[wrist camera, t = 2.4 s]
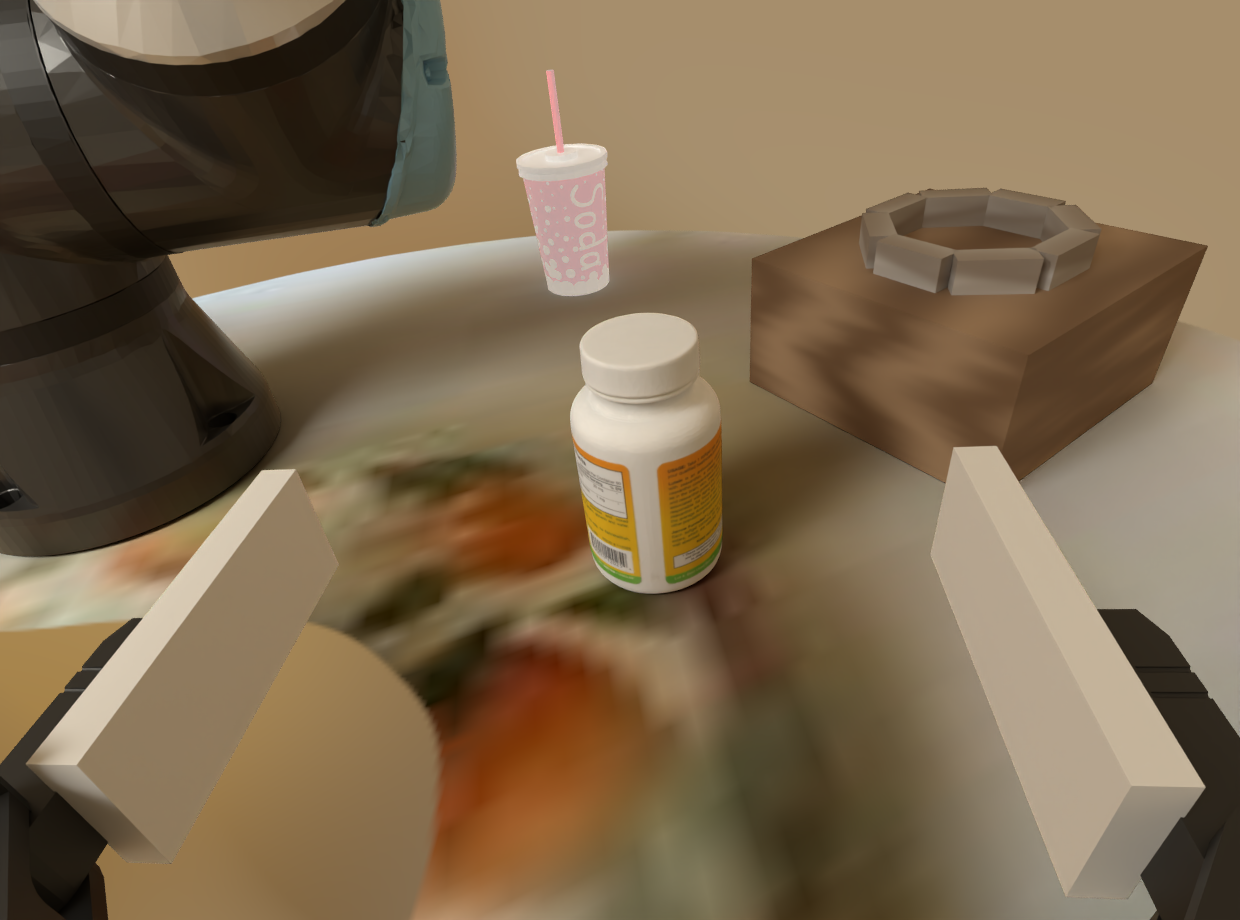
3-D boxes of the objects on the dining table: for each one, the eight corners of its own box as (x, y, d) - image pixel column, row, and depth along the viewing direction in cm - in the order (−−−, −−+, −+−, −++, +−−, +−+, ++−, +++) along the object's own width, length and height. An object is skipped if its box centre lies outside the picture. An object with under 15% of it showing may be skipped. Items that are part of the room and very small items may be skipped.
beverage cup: (548, 307, 50) (512, 84, 41) (529, 277, 54) (492, 72, 46) (631, 288, 51) (611, 68, 43) (604, 261, 56) (582, 58, 47)
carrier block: (749, 381, 39) (752, 228, 34) (911, 301, 45) (933, 161, 40) (986, 504, 30) (1039, 316, 25) (1152, 382, 36) (1221, 211, 31)
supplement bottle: (720, 505, 31) (717, 298, 25) (725, 598, 27) (724, 374, 21) (598, 507, 32) (569, 306, 26) (584, 599, 28) (545, 381, 22)
